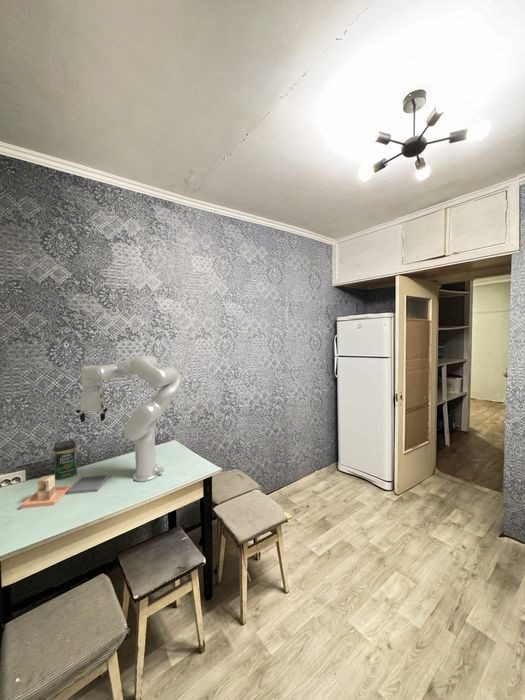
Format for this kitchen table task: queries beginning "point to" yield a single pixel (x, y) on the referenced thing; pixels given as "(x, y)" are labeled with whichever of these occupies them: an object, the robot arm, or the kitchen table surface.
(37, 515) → the kitchen table surface
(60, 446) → the coffee jar
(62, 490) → the terracotta dish
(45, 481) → the notched wooden block
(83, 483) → the charcoal tray
